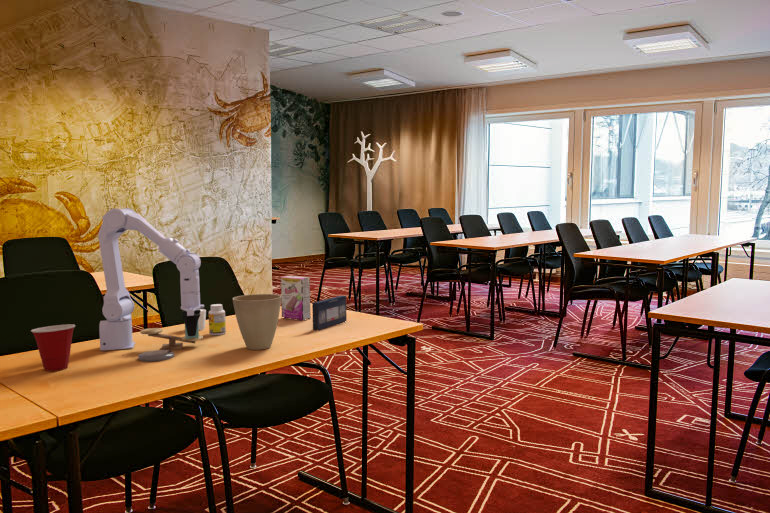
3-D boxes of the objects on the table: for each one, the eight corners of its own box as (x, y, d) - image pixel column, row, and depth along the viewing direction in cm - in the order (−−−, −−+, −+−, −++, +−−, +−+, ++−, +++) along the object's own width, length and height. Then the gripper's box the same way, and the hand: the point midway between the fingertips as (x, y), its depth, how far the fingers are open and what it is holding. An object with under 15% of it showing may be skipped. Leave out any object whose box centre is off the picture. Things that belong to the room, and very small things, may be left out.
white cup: (203, 331, 218) (202, 311, 218) (184, 331, 219) (183, 312, 218) (209, 327, 225) (208, 308, 225) (190, 327, 225) (189, 308, 225)
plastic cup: (67, 361, 178) (64, 320, 177) (84, 367, 171) (82, 325, 170) (26, 369, 170) (23, 327, 169) (43, 376, 163) (40, 331, 162)
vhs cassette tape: (318, 330, 217) (317, 303, 216) (311, 330, 218) (310, 302, 218) (347, 321, 232) (347, 295, 232) (341, 321, 234) (341, 295, 233)
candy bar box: (280, 318, 241) (279, 277, 239) (289, 316, 245) (288, 275, 243) (303, 321, 235) (302, 278, 233) (311, 318, 239) (310, 277, 238)
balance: (140, 352, 188) (139, 332, 187) (142, 348, 194) (141, 328, 193) (203, 348, 193) (202, 328, 192) (203, 343, 199) (202, 324, 198)
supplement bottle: (209, 333, 215) (207, 304, 214) (225, 331, 217) (224, 303, 216) (209, 336, 210) (208, 306, 209) (226, 335, 211) (225, 305, 211)
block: (185, 338, 192) (184, 323, 192) (185, 336, 196) (185, 320, 195) (198, 337, 193) (198, 322, 193) (198, 335, 197) (198, 320, 197)
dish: (136, 363, 175) (136, 359, 175) (140, 354, 185) (139, 351, 185) (173, 360, 178) (173, 356, 178) (175, 352, 188) (174, 348, 188)
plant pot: (290, 343, 198) (289, 294, 196) (269, 354, 184) (268, 301, 182) (248, 340, 202) (247, 292, 200) (225, 351, 188) (223, 300, 186)
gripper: (203, 294, 187) (205, 338, 189) (203, 288, 201) (205, 329, 203) (179, 295, 186) (181, 339, 187) (180, 289, 199) (182, 330, 201)
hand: (192, 334), depth 194 cm, fingers closed on block, 4 cm apart
